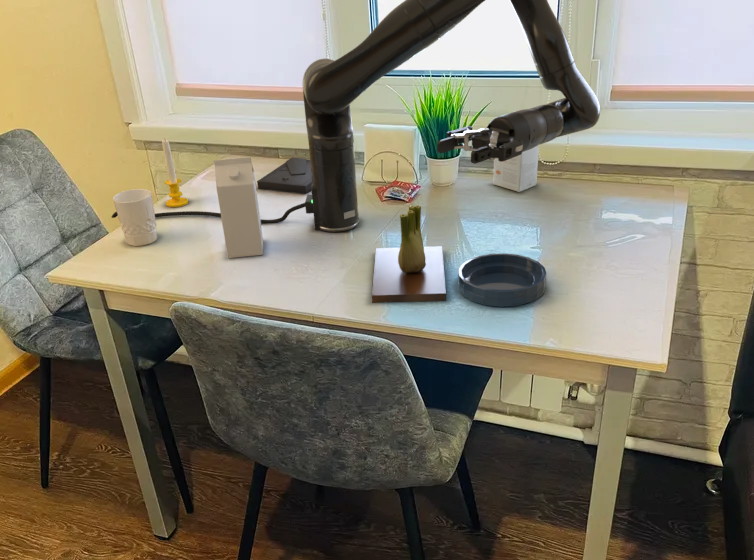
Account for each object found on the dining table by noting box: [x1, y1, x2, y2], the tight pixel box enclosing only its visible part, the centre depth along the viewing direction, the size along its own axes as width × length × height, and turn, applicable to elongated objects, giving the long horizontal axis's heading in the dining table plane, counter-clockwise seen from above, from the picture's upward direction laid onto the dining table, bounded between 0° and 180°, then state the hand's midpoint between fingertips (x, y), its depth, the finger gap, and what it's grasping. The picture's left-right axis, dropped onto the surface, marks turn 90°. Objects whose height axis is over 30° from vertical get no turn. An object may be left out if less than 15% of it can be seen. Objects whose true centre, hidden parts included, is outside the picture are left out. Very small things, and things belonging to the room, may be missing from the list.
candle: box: [161, 138, 189, 208], centre depth 182 cm, size 5×5×16 cm
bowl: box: [457, 253, 548, 307], centre depth 139 cm, size 15×15×3 cm
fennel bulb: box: [398, 205, 426, 273], centre depth 142 cm, size 6×5×12 cm
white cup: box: [112, 188, 159, 247], centre depth 166 cm, size 8×8×10 cm
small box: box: [492, 145, 540, 193], centre depth 179 cm, size 8×6×13 cm
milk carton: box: [213, 156, 264, 259], centre depth 156 cm, size 7×7×19 cm
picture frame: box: [256, 157, 312, 195], centre depth 194 cm, size 13×2×18 cm
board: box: [371, 245, 447, 304], centre depth 146 cm, size 13×20×2 cm, turn 176°
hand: (455, 152), depth 139 cm, fingers open, 8 cm apart
